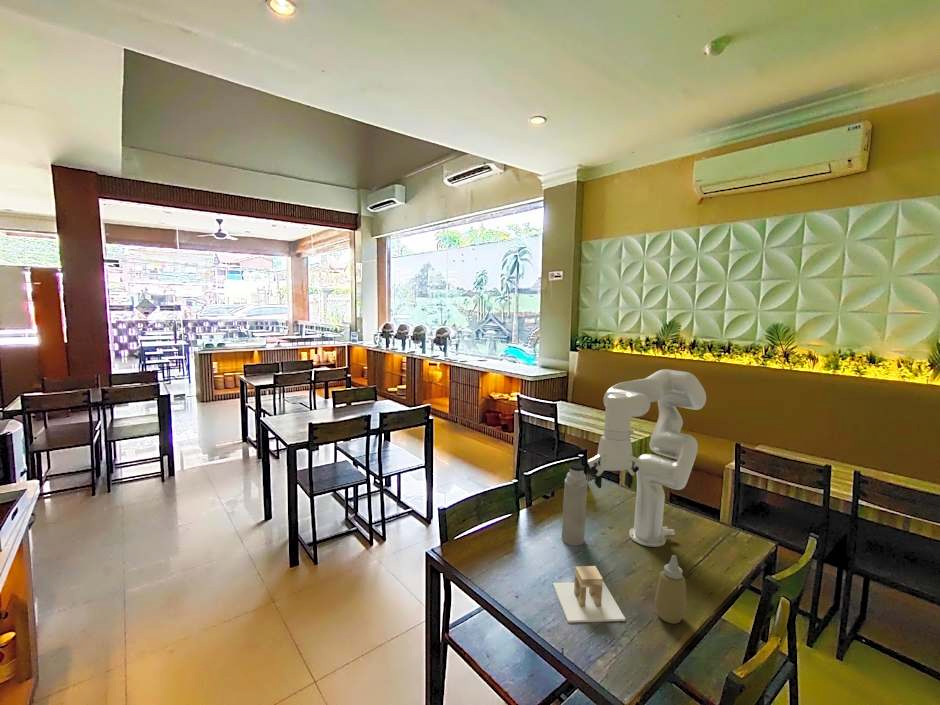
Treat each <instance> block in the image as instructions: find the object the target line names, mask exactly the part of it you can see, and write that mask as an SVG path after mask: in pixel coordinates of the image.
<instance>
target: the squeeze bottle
mask: <svg viewBox="0 0 940 705" xmlns="http://www.w3.org/2000/svg"><path fill="white" fill-rule="evenodd" d="M686 584H687V583H686V579H685V577H684V576H683V569H682V568H681V567H680V566H679V563H678V557H677V555H675V554H672V555H671V557H670V560H669V562H668V563H667V564H665V565H664V566H663V570H662V571H661V572H659V578H658V581H657V587H656V591H655V597H654V601H653V602H654V605H655V608H656V612H657V615H658V617H659V618H660V619H661V620H662V621H664V622H666V623H669V624H674V625H675V624H679V623H680V622H681V621H682V619H683V617H684V615H685V614H686V612H687V591H686V590H687V589H686V588H687V586H686Z"/></svg>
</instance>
